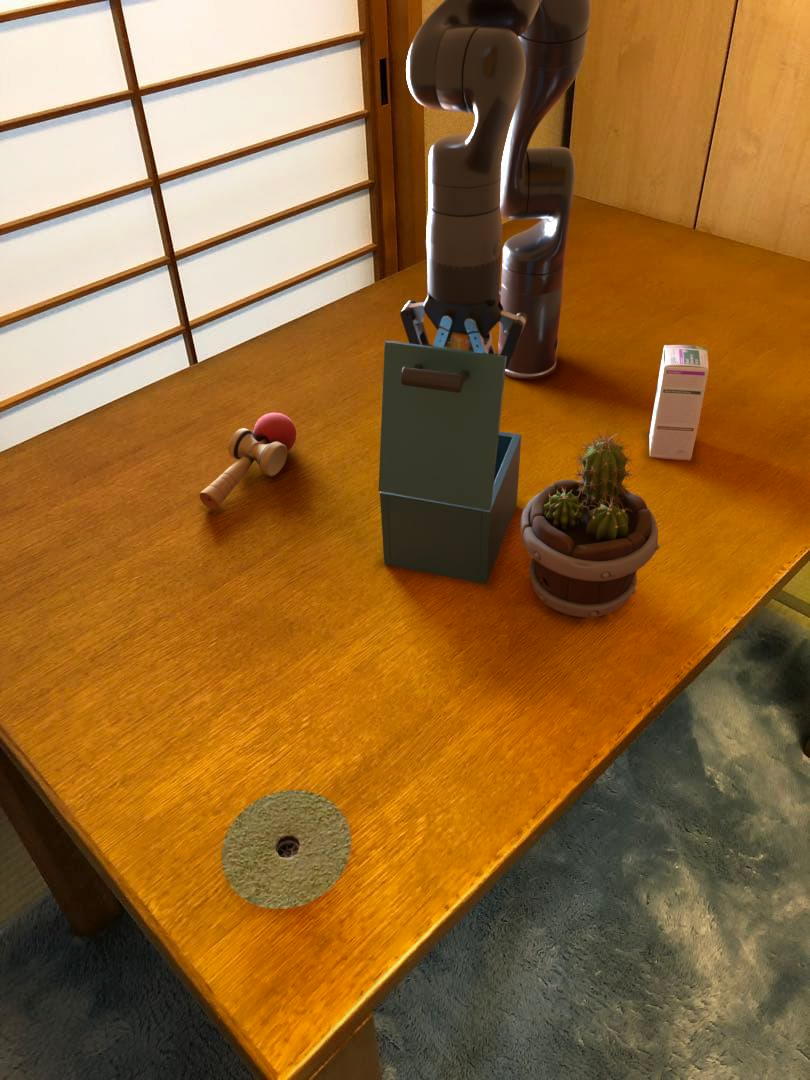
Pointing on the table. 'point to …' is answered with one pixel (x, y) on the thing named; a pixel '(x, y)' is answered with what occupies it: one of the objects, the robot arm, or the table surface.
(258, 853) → the mat
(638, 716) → the table surface
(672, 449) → the syrup box
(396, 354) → the lid
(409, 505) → the bin
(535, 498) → the flowerpot
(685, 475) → the table surface
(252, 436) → the kendama
